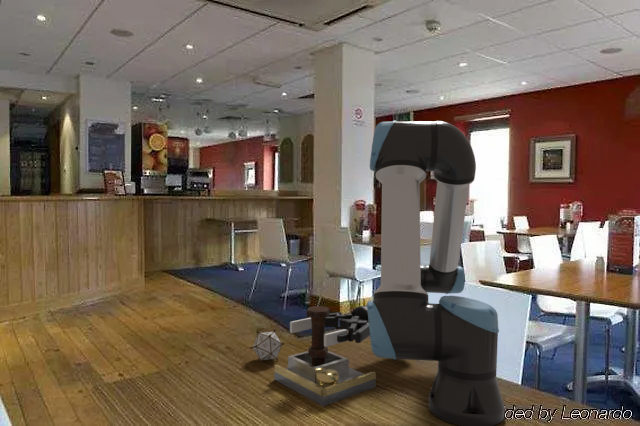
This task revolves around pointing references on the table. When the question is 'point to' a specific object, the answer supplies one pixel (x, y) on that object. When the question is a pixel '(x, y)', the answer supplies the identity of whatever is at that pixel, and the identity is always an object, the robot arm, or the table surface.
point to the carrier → (323, 378)
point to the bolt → (318, 334)
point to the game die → (267, 345)
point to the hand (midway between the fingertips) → (307, 333)
